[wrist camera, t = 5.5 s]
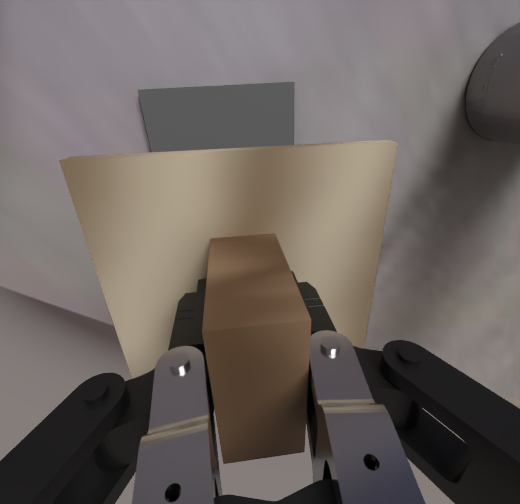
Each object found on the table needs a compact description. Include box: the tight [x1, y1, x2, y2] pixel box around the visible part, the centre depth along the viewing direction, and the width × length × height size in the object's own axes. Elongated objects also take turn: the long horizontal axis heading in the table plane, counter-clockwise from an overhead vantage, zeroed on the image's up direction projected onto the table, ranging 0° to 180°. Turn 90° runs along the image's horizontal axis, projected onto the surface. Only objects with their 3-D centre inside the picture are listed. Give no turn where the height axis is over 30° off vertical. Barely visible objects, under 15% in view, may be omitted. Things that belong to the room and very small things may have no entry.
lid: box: [60, 140, 398, 464], centre depth 10 cm, size 11×11×6 cm
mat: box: [138, 82, 294, 152], centre depth 26 cm, size 12×12×1 cm
